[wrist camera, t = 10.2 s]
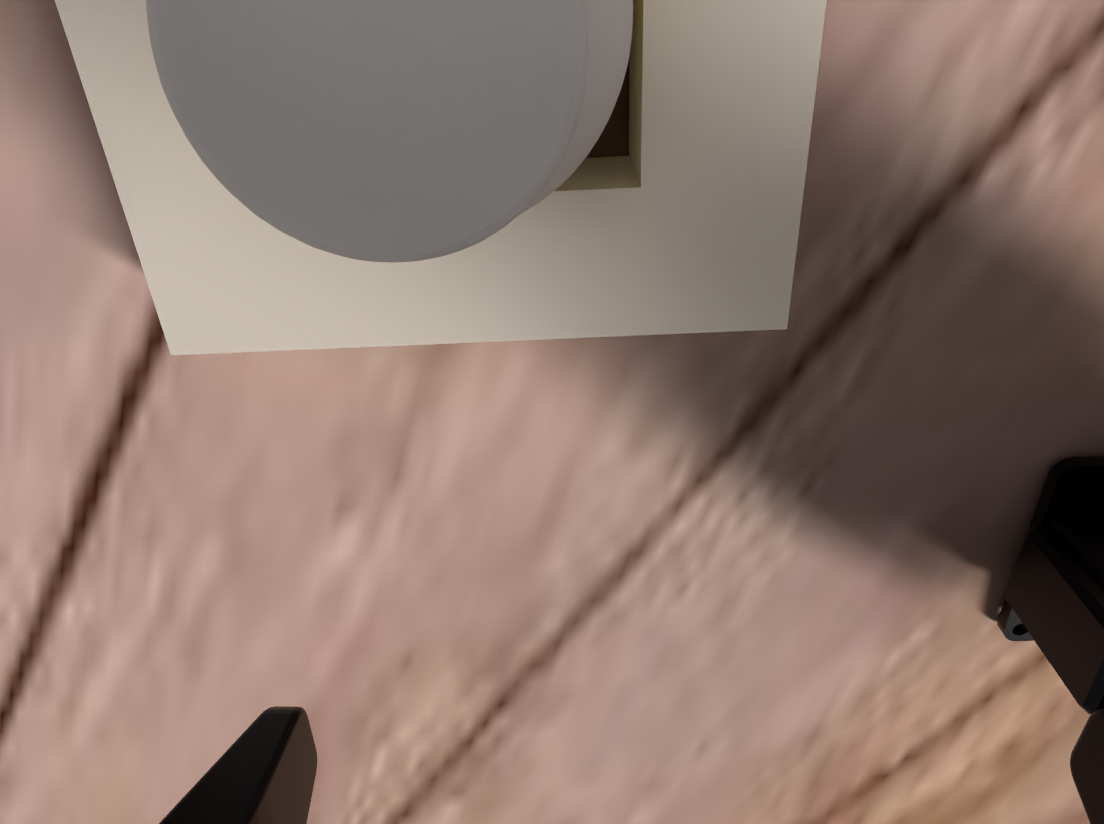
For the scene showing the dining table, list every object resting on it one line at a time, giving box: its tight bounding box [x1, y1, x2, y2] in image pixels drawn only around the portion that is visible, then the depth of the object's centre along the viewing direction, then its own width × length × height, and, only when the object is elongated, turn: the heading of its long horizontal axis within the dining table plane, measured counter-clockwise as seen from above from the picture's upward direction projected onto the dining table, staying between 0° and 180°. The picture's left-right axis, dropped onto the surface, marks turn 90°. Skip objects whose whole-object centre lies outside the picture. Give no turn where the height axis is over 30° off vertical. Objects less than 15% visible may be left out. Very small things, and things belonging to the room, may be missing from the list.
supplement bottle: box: [146, 0, 633, 263], centre depth 11 cm, size 5×5×10 cm
